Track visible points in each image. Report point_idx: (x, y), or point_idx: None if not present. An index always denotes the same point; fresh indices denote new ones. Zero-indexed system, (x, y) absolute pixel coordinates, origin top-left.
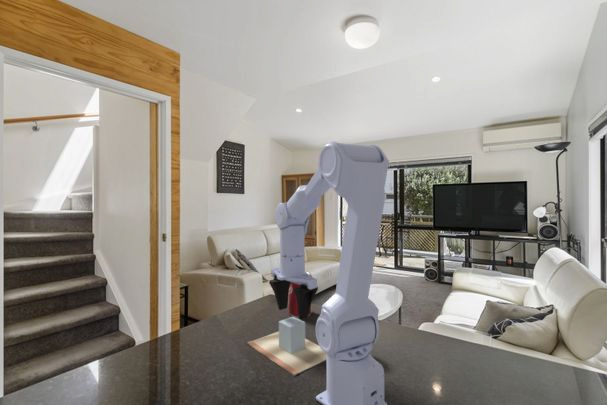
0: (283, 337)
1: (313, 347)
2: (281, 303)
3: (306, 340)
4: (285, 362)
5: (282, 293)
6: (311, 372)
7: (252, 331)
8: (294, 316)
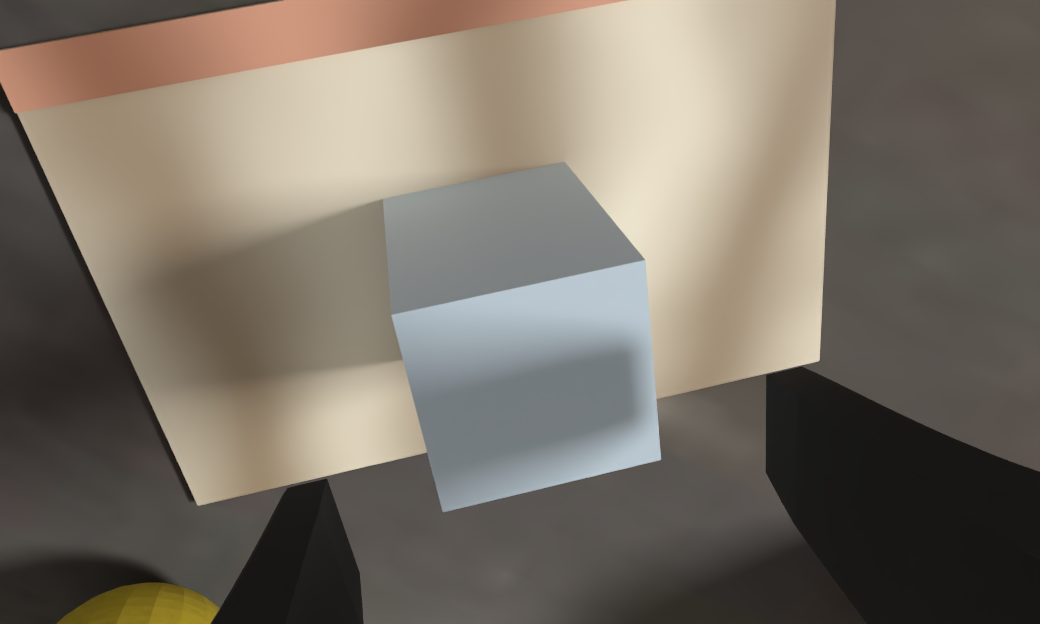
0: (510, 217)
1: (386, 411)
2: (816, 449)
3: None
4: (255, 83)
5: (925, 588)
6: (3, 218)
7: (1007, 74)
8: None
